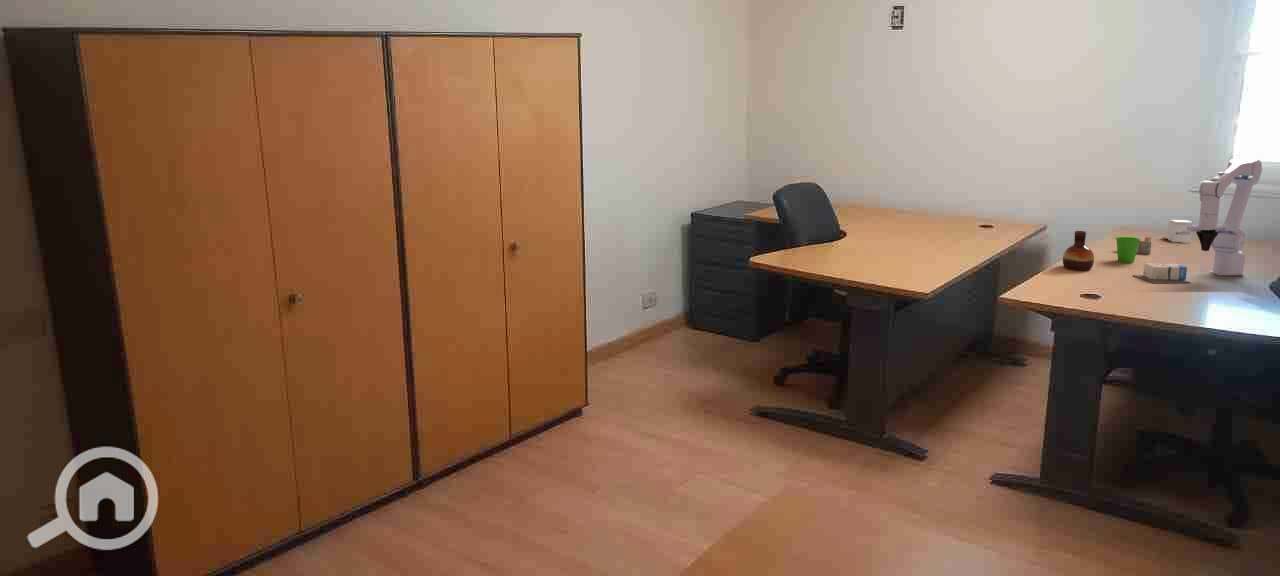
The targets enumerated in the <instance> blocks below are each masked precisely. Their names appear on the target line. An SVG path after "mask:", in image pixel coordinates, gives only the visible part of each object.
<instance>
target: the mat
mask: <svg viewBox="0 0 1280 576" xmlns="http://www.w3.org/2000/svg"><path fill="white" fill-rule="evenodd" d="M1132 277H1134V278H1137V279H1140V280H1143V281H1144V282H1145V281H1146V282H1148V283H1152V284H1191V281H1187V280H1153V279H1149V278H1147V277H1146V276H1144V275H1143V274H1133V275H1132Z"/></svg>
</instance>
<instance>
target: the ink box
mask: <svg viewBox="0 0 1280 576" xmlns="http://www.w3.org/2000/svg"><path fill="white" fill-rule="evenodd" d="M1143 265H1144V267H1143V271H1142V272H1143V273H1142V275H1144V276H1146V277H1147V278H1149V279H1153V280H1185V281H1187V274H1188V273H1187V270H1188V267H1187V266H1185V265H1181V264H1180V263H1158V262H1157V263H1149V262H1144V264H1143Z"/></svg>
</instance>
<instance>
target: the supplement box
mask: <svg viewBox="0 0 1280 576" xmlns="http://www.w3.org/2000/svg"><path fill="white" fill-rule="evenodd" d="M1193 224H1194V223H1193V221H1191V220H1187V219H1184V220H1182V219H1169V220H1168V225H1167V235H1166V237H1167V238H1166V240H1167V239H1168V240H1167V241H1169V240H1170V241H1169V242H1171V241H1172V242H1171V243H1173V242H1182V243H1181V244H1191V239H1192V233H1193V232H1189V231H1187V226H1193Z"/></svg>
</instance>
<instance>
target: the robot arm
mask: <svg viewBox="0 0 1280 576" xmlns="http://www.w3.org/2000/svg"><path fill="white" fill-rule="evenodd" d="M1262 172H1263V163H1262V161H1261V160H1260V159H1239V158H1237V159H1236V158H1231V159H1230V160H1229V161H1228V164H1227V168H1226V169H1225V171H1219V172H1218V173H1217V174H1216V175H1214V176H1213V177H1212V178H1211V179H1210V180H1205V181H1203V182H1201V184H1200V186H1199V189H1198V190H1199V191H1198V193H1199V201H1200V211H1199V220H1198V221H1199V222H1198V225H1197V224H1195V225H1192V226H1187V231H1189V232H1192V233H1193V232H1195V233H1196V235H1197V237H1198V239H1199V242H1200V247H1201V249H1200V250H1201V251H1202V252H1203V251H1204V252H1209V251H1210V248H1212V249H1213V251H1214V255H1213V264H1212V270H1207V272H1208V273H1210V274H1213V275H1216V276H1244V275H1245V274H1244V270H1245V269H1244V267H1245V261H1246V260H1245V259H1246V258H1245V253H1243V251H1241V250H1242V249H1243V248H1244V245H1245V238H1246V233H1245V231H1244V230H1243V229H1242V228H1241V227H1240V226H1241V223H1242V220H1243V216H1244V213H1245V210H1246V207H1247V204H1248V202H1249V198H1250V195H1251V192H1252V188H1253V186H1254V185H1257V184H1258V183H1259V180H1260V178H1261V174H1262ZM1231 184H1234V185H1236V187H1235V190H1234V194H1233V196H1232V199H1231V203H1230V206H1229V208H1228V212H1227V214H1226V217H1225V220H1224V223H1223V224H1218V220H1219V210H1220V202H1221V198H1222V197H1223V195H1224V193H1225V191H1226V189H1227V188H1228V187H1229V186H1230V185H1231Z"/></svg>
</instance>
